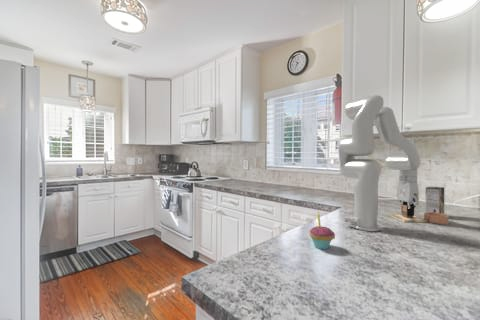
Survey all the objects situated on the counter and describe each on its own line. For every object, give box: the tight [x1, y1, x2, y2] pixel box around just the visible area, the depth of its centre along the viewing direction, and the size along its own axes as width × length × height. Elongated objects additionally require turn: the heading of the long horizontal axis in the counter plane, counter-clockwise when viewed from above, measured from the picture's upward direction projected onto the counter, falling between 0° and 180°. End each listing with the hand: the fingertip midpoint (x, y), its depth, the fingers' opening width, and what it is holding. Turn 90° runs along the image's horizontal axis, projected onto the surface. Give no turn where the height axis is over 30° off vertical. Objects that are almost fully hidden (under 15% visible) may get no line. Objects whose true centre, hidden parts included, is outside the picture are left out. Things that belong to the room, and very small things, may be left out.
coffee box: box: [425, 186, 445, 214], centre depth 126 cm, size 9×6×16 cm
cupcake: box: [309, 212, 336, 250], centre depth 80 cm, size 9×8×12 cm
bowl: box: [423, 211, 450, 225], centre depth 114 cm, size 9×9×4 cm
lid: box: [389, 205, 428, 224], centre depth 117 cm, size 11×11×7 cm
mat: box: [388, 215, 429, 224], centre depth 117 cm, size 12×12×1 cm
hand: (407, 214), depth 117 cm, fingers closed on lid, 3 cm apart
